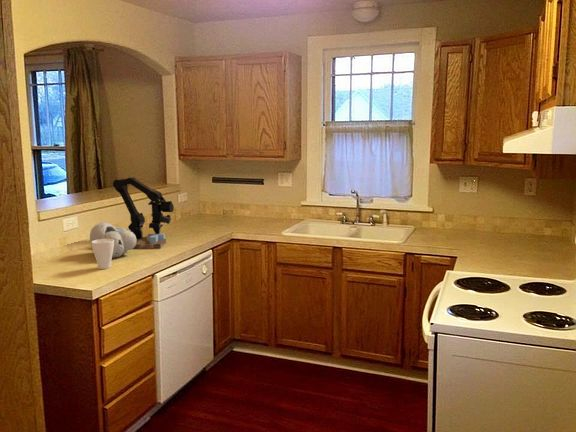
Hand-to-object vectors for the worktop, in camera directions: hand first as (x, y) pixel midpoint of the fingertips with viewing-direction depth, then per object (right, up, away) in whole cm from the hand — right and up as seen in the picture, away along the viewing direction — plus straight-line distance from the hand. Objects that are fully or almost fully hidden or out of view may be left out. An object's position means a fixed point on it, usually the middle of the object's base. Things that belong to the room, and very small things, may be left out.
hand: (158, 236), depth 327 cm
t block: (0, -3, -8) cm, 8 cm away
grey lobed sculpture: (-15, -9, -40) cm, 44 cm away
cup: (-10, -13, -66) cm, 68 cm away
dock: (0, -5, -19) cm, 19 cm away
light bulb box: (-19, -5, -19) cm, 28 cm away
